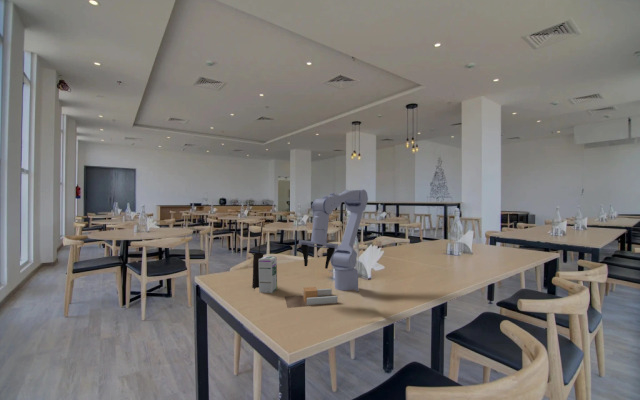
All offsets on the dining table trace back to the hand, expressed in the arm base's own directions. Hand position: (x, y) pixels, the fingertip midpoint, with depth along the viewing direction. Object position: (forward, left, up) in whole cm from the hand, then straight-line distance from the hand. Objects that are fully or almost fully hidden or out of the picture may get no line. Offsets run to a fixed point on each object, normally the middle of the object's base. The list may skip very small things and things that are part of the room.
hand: (315, 267), depth 109 cm
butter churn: (+22, -25, -13) cm, 36 cm away
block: (+2, -1, -12) cm, 12 cm away
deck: (+2, -1, -13) cm, 13 cm away
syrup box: (+17, -16, -13) cm, 27 cm away
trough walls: (-2, -1, -12) cm, 12 cm away
